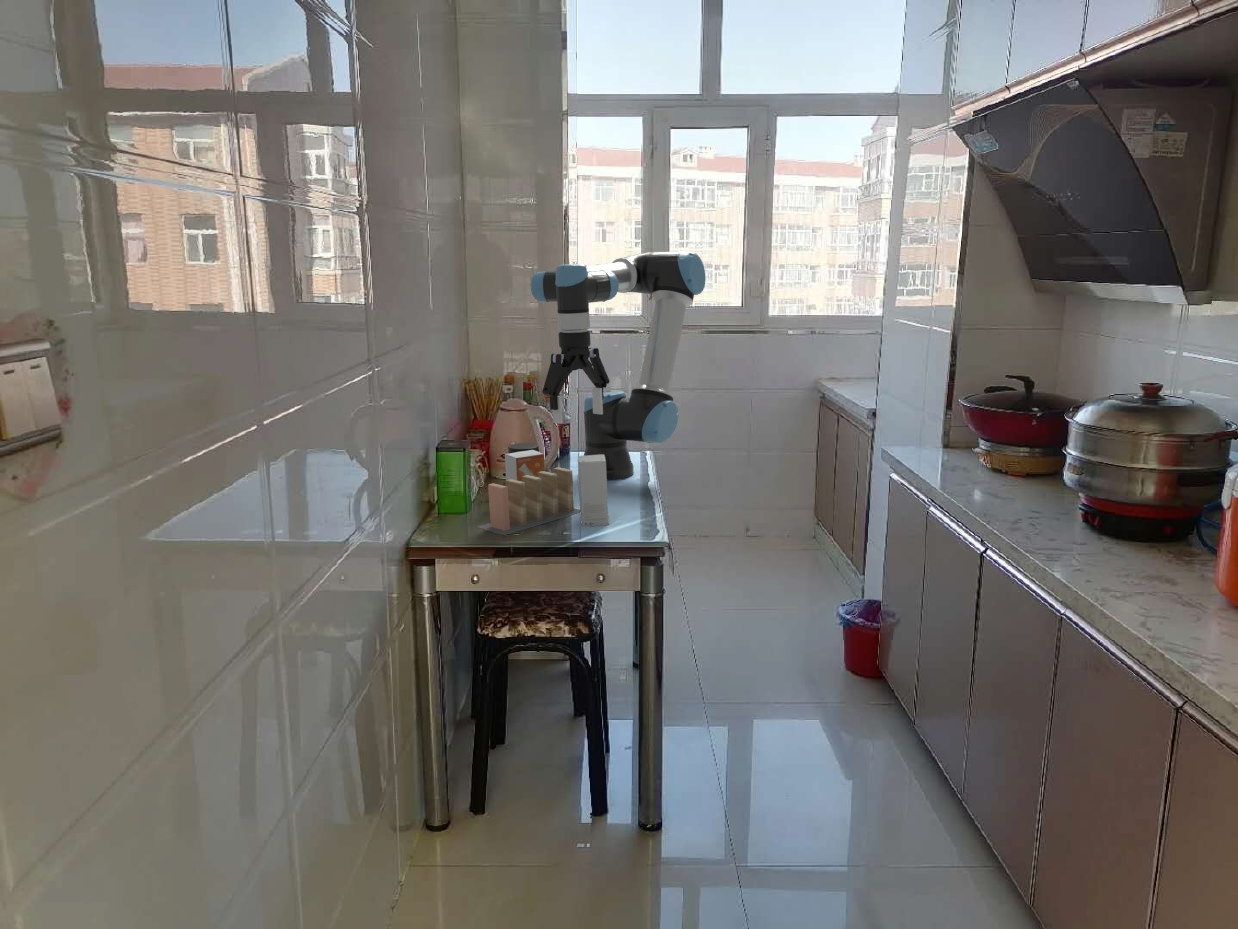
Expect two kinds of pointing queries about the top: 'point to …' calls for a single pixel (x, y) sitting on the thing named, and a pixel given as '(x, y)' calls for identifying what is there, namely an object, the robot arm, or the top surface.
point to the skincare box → (593, 490)
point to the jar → (522, 447)
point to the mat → (529, 522)
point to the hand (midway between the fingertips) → (578, 418)
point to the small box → (523, 464)
